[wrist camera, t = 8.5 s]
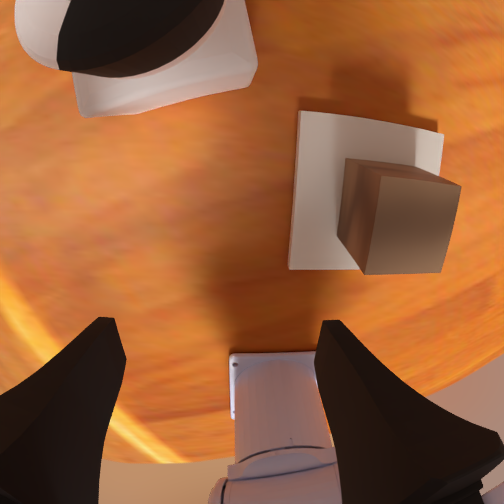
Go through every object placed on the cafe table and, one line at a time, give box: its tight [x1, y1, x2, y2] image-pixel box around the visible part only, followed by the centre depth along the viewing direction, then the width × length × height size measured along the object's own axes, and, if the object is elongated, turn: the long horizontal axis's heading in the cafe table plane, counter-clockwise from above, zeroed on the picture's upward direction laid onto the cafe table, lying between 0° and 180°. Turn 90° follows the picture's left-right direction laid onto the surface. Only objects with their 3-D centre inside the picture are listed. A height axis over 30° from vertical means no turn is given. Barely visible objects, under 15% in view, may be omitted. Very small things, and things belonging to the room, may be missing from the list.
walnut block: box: [337, 158, 461, 275], centre depth 16 cm, size 5×5×5 cm
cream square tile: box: [288, 111, 444, 270], centre depth 19 cm, size 10×10×1 cm
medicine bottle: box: [15, 0, 258, 118], centre depth 9 cm, size 7×7×12 cm
